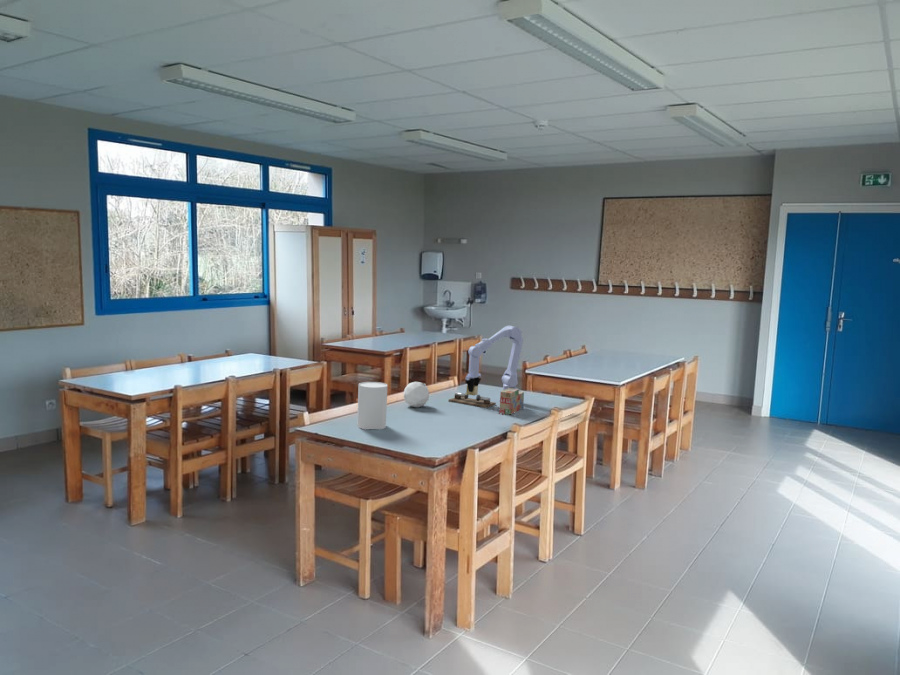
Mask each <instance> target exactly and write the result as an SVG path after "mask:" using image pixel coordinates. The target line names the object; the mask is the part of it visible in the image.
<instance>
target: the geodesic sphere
mask: <svg viewBox="0 0 900 675" xmlns="http://www.w3.org/2000/svg"><path fill="white" fill-rule="evenodd" d="M403 399H404V401H405V403H407V404H408V405H409V406H410V407H413V408H420V407H424V406H425V405H426V404H427V403H428V401H429V399H430V390H429V388H428V386H427V384H426V383H425V382H420V381H413V382H409V383H408V384H407V385H406V386H405V388H404V389H403Z"/></svg>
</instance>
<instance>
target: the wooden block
mask: <svg viewBox="0 0 900 675" xmlns="http://www.w3.org/2000/svg"><path fill="white" fill-rule="evenodd" d="M478 392H479V385H478V386H476V385H474V387H473V392H469V390H468V385H466V392H465V393H466V394H468V395H469V396H477V395H479V394H478Z"/></svg>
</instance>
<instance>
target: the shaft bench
mask: <svg viewBox="0 0 900 675" xmlns="http://www.w3.org/2000/svg"><path fill="white" fill-rule="evenodd" d="M448 402H450V403H456V404H462V405H466V406H467V405H468V406H473V407H479V408H485V409H487V408H490V407H492V406H496V402H494V401H490V402H489V401H486V400H484V401H483V400H479V401H477V400H476V398H471V397H470V398H469V397H468V399H465V397H460V396H458V395H455V394H454V397H453V398H450V399H448Z"/></svg>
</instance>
